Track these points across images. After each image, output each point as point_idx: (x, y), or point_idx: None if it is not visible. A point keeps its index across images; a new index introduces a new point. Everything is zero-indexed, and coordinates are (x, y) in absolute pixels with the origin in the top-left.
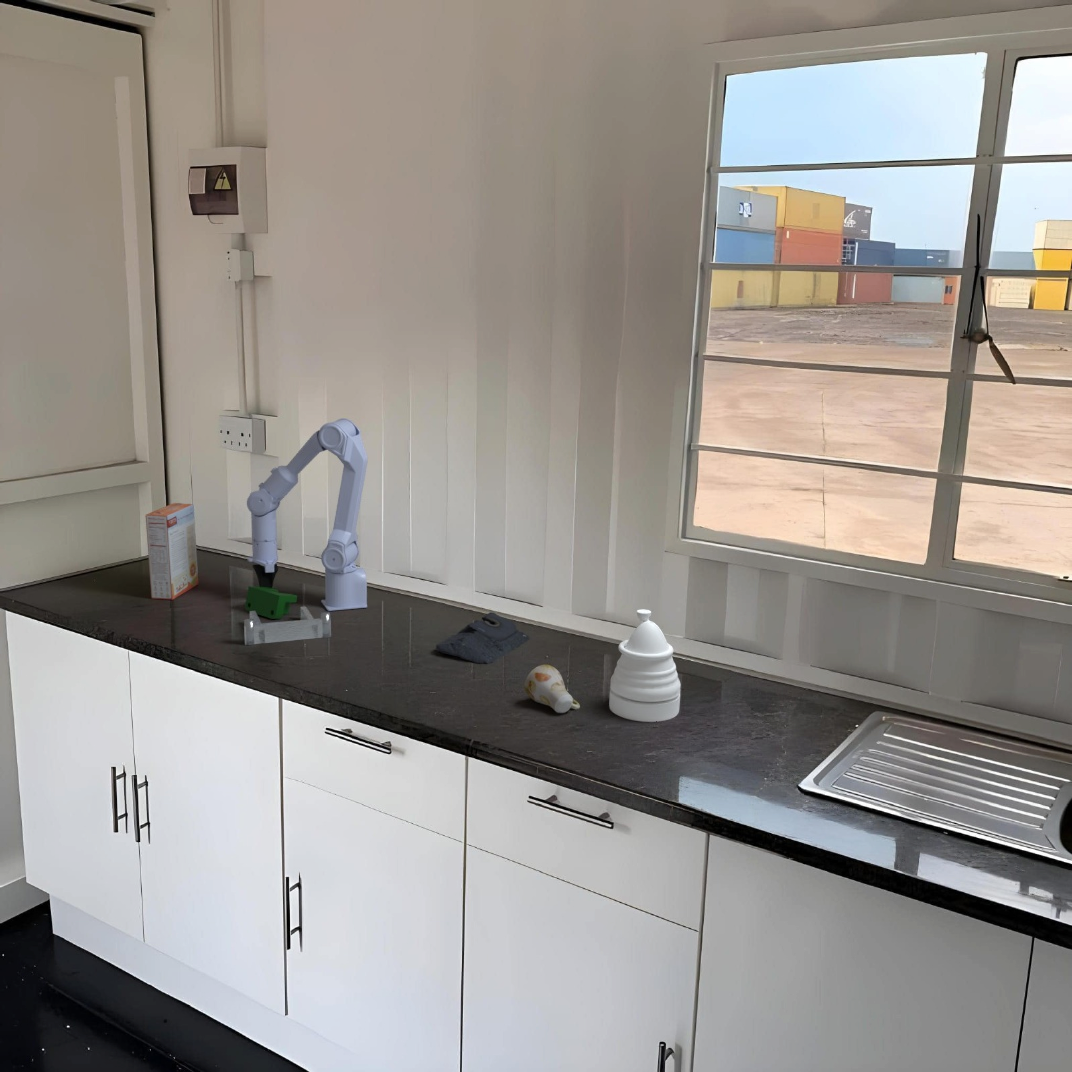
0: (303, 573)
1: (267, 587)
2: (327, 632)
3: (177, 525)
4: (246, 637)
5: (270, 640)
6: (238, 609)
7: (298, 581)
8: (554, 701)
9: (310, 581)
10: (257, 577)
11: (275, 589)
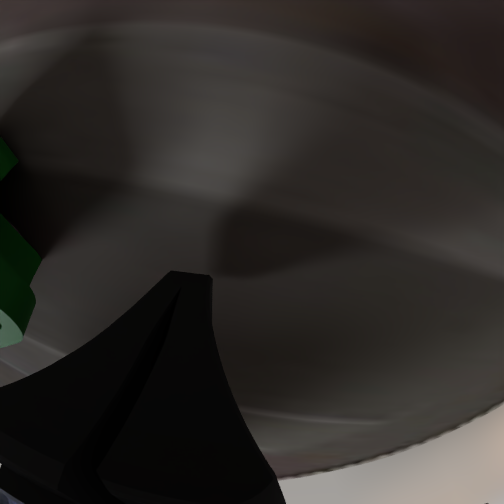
0: (468, 416)
1: (16, 326)
2: None
3: None
4: None
5: None
6: (43, 73)
7: (417, 412)
8: None
9: (389, 432)
10: (208, 369)
11: (2, 343)
